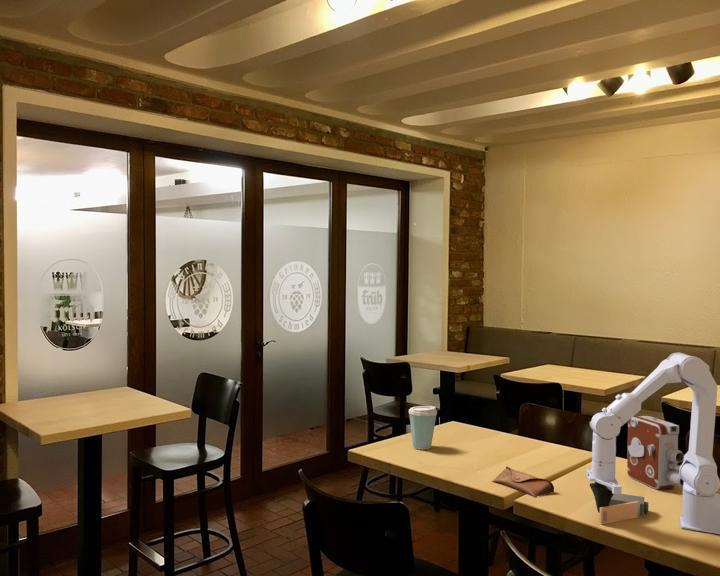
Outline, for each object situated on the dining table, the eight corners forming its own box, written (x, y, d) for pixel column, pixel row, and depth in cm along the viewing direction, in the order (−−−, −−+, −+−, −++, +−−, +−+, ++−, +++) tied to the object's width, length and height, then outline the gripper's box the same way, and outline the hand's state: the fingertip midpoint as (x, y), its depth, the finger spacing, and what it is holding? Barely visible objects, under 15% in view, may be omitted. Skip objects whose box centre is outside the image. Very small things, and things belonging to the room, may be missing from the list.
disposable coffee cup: (404, 449, 225) (405, 408, 225) (411, 442, 235) (411, 402, 235) (433, 452, 222) (434, 410, 222) (438, 444, 232) (439, 405, 232)
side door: (637, 515, 165) (638, 500, 164) (641, 517, 163) (642, 502, 163) (598, 522, 159) (599, 507, 159) (602, 524, 158) (603, 509, 158)
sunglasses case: (488, 480, 192) (496, 460, 193) (501, 488, 195) (508, 468, 197) (536, 498, 177) (544, 475, 179) (549, 506, 181) (556, 484, 183)
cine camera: (668, 497, 179) (669, 428, 179) (622, 476, 198) (624, 414, 197) (694, 495, 181) (695, 427, 181) (647, 474, 200) (648, 413, 200)
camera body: (648, 510, 169) (648, 495, 169) (648, 518, 163) (648, 502, 163) (599, 502, 174) (599, 488, 174) (597, 510, 169) (597, 495, 169)
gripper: (576, 452, 167) (574, 502, 168) (603, 469, 153) (601, 523, 153) (600, 452, 168) (599, 501, 168) (630, 468, 154) (628, 523, 154)
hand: (602, 512), depth 161 cm, fingers closed
